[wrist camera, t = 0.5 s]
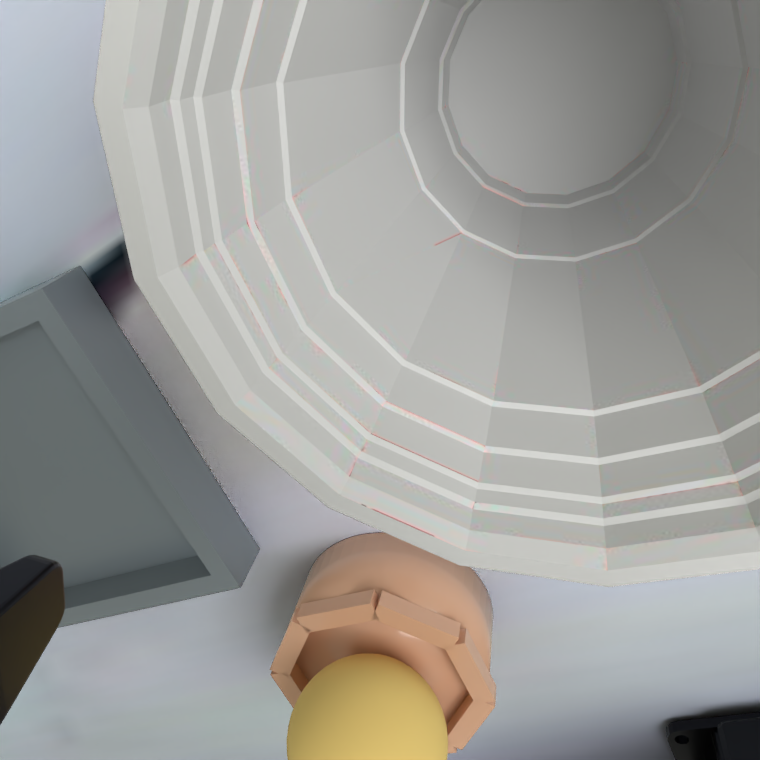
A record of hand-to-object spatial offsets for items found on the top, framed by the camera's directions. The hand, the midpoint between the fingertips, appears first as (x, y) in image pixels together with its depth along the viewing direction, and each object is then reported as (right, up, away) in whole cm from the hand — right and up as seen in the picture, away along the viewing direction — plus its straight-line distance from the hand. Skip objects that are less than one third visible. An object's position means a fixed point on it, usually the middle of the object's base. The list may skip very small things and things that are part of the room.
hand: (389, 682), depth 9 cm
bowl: (+1, -5, +18) cm, 18 cm away
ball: (0, -6, +15) cm, 16 cm away
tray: (-13, +1, +18) cm, 22 cm away
